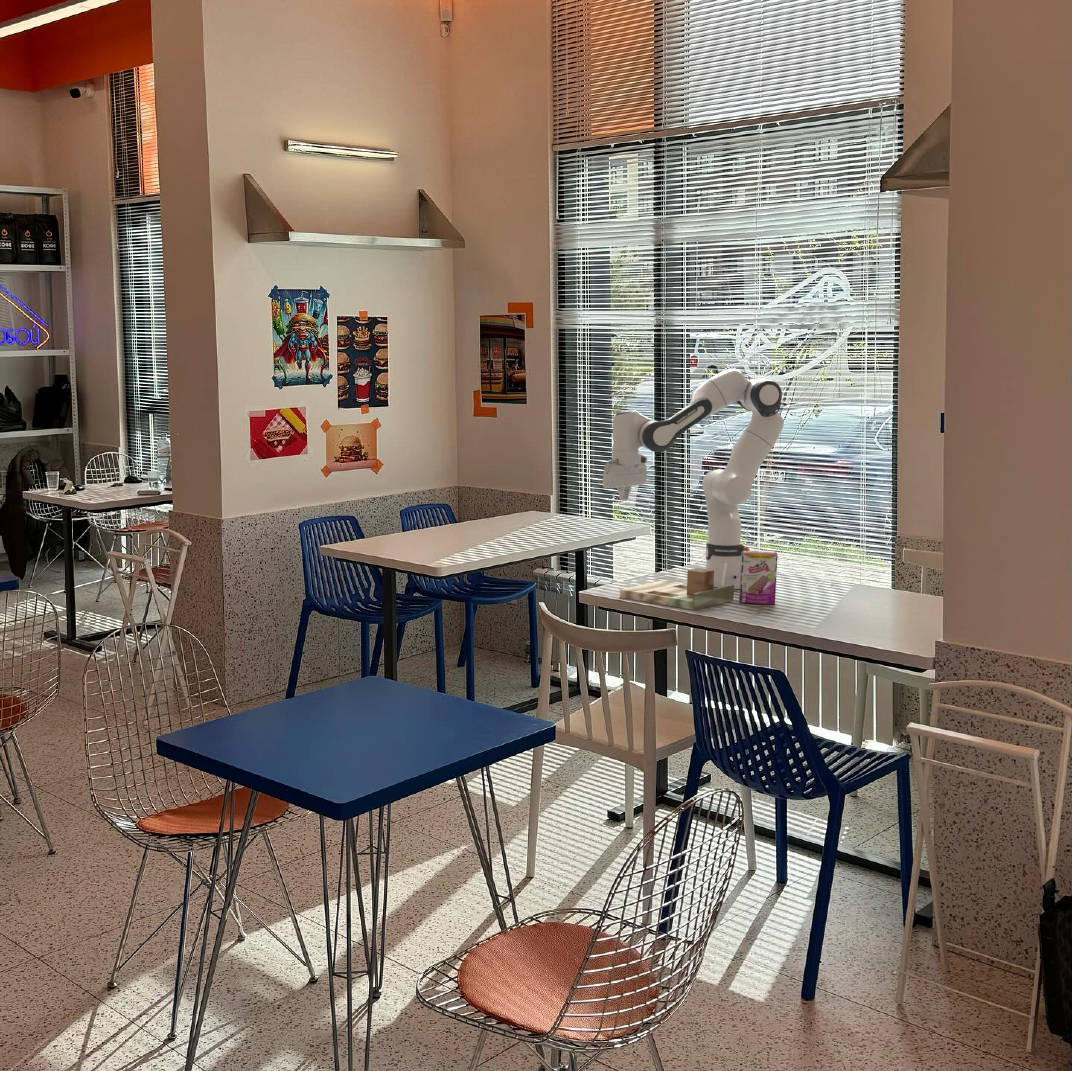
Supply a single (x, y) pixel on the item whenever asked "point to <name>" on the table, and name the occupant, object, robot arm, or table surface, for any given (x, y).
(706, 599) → the trap deck
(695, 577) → the walnut block
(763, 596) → the candy bar box
